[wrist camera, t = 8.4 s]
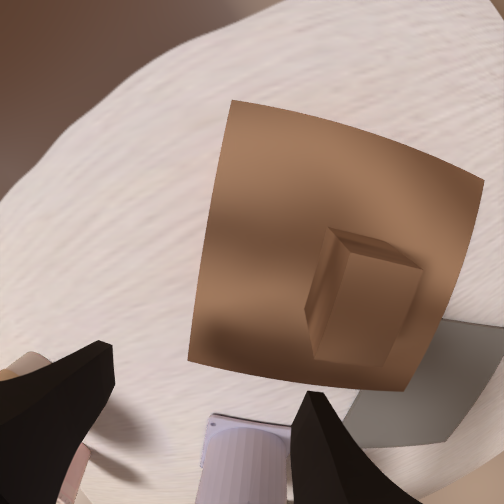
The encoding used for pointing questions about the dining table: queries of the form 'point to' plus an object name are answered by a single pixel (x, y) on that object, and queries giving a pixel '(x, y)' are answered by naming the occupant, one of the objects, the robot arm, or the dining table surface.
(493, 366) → the mat
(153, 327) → the dining table surface
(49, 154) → the dining table surface
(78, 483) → the smoothie
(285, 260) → the lid
